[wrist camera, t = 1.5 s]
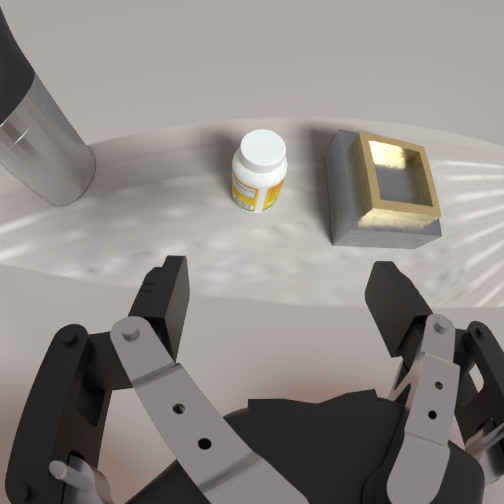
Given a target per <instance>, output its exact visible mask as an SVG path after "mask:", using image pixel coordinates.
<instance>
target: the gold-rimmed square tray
mask: <svg viewBox="0 0 504 504" xmlns="http://www.w3.org/2000/svg"><path fill="white" fill-rule="evenodd" d="M324 158H325V167H326V175H327V185H328V195H329V206H330V218H331V232H332V245H336V246H360V247H383V248H404V249H415V248H417V247H420V246H422V245H424V244H426V243H428V242H431V241H433V240H435V239H437V238H439V237H441V236H442V234H441V228H440V222H439V218H440V217H441V213H440V208H439V203H438V199H437V194H436V190H435V186H434V182H433V178H432V174H431V170H430V167H429V163H428V160H427V156H426V153H425V150H424V147H423V146H419V145H416V144H412V143H408V142H404V141H400V140H396V139H392V138H387V137H383V136H378V135H373V134H368V133H363V132H359V133H355V132H349V131H343V130H338V132H337V134H336V136H335V137H334V139H333V141H332V143H331V145H330V147H329V149H328V151H327V153H326V154H325V156H324Z"/></svg>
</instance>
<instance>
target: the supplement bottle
mask: <svg viewBox="0 0 504 504" xmlns="http://www.w3.org/2000/svg"><path fill="white" fill-rule="evenodd" d="M285 152H286V147H285V143H284V141H283V140H282V138H281V137H280V136H279V135H278V134H276V133H274V132H272V131H269V130H264V129H259V130H254V131H251V132H249V133H248V134H246V135H245V136H244V137H243V139H242V141H241V144H240V147H239V148H238V149H237V151H236V152H235V154H234V156H233V159H232V197H233V199H234V201H235V203H236V204H237V205H238V206H239V207H240V208H241V209H243V210H244V211H247V212H250V213H260V212H264V211H266V210H268V209H269V208H270V207H272V206H273V204H274V203H275V201H276V199H277V197H278V194H279V191H280V189H281V186H282V183H283V181H284V178H285V175H286V172H287V168H288V163H287V159H286V156H285Z"/></svg>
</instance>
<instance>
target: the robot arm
mask: <svg viewBox="0 0 504 504" xmlns="http://www.w3.org/2000/svg"><path fill="white" fill-rule="evenodd" d="M0 164H1V165H3V166H4V167H5V169H6V170H7V171H8V172H9V173H10V174H12V175H13V176H14V177H15V178H17V179H18V180H19V181H21V182H22V183H23V184H24V185H26V186H27V187H28V188H30V189H31V190H32V191H34V192H35V193H36V194H38V195H39V196H40V197H42V198H44V199H46V200H47V201H48V202H50V203H51V204H53V205H56V206H64V205H67V204H70V203H71V202H73V201H75V200H76V199H77V198H79V197H80V196H81V195H82V194H83V193H84V192H85V190H86V189H87V188H88V186H89V184H90V183H91V181H92V179H93V176H94V173H95V167H96V165H95V158H94V156H93V154H92V153H91V151H90V150H89V149H88V147H87V146H86V145H85V143H84V142H83V141H82V139H81V138H80V136H79V135H78V134H77V132H76V131H75V130H74V128H73V127H72V125H71V124H70V123H69V121H68V120H67V118H66V117H65V116H64V114H63V113H62V111H61V110H60V109H59V107H58V106H57V104H56V103H55V101H54V100H53V98H52V97H51V95H50V94H49V92H48V91H47V90H46V88H45V86H44V85H43V83H42V82H41V80H40V79H39V78H38V76H37V74H36V73H35V71H34V69H33V68H32V66H31V65H30V63H29V62H28V60H27V59H26V57H25V56H24V54H23V53H22V51H21V49H20V48H19V46H18V44H17V43H16V41H15V39H14V37H13V35H12V33H11V31H10V29H9V26H8V24H7V22H6V20H5V17H4V15H3V12H2V10H1V7H0ZM189 294H190V288H189V278H188V268H187V259H186V256H172V255H168V256H167V257H166V259H165V262H164V264H163V266H162V267H154V268H153V269H152V270H151V271H150V272H149V273H148V274H146V277H145V279H144V281H143V285H141V287H140V290H139V292H138V294H137V296H136V298H135V301H134V303H133V305H132V308H131V310H130V312H129V315H128V317H126V318H123V319H121V320H119V321H118V322H116V323H115V325H113V327H112V329H111V331H109V332H104V333H98V334H90V335H89V334H88V333H87V330H86V329H85V328H84V327H83V326H81V325H77V324H70V325H67V326H65V327H63V328H61V329H60V330H59V331H58V332H57V333H56V334H55V336H54V338H53V340H52V342H51V344H50V346H49V348H48V351H47V353H46V355H45V357H44V359H43V362H42V364H41V366H40V368H39V371H38V373H37V376H36V378H35V381H34V383H33V386H32V388H31V391H30V394H29V396H28V399H27V402H26V405H25V407H24V410H23V413H22V416H21V419H20V423H19V426H18V429H17V432H16V436H15V440H14V443H13V447H12V451H11V455H10V459H9V464H8V469H7V473H6V479H5V491H6V494H7V497H8V499H9V501H10V502H11V504H115V503H114V502H113V500H112V498H111V495H110V486H109V482H108V480H107V478H106V477H105V476H104V474H103V473H101V472H100V471H99V470H97V467H98V460H99V453H100V448H101V442H102V436H103V431H104V426H105V421H106V416H107V411H108V406H109V403H110V398H111V394H112V390H120V389H127V388H134V389H135V391H136V393H137V395H138V397H139V399H140V401H141V402H142V404H143V406H144V408H145V410H146V411H147V413H148V415H149V416H150V418H151V420H152V422H153V423H154V425H155V427H156V428H157V430H158V431H159V433H160V435H161V436H162V438H163V439H164V441H165V442H166V444H167V445H168V447H169V448H170V450H171V451H172V453H173V454H174V456H175V457H176V460H175V461H174V462H173V463H172V464H171V465H169V467H167V468H166V469H165V470H164V471H163V472H162V473H161V474H159V475H158V476H157V477H156V478H155V479H154V480H153V481H151V482H150V483H149V484H148V485H147V486H145V487H144V488H143V489H142V490H141V491H139V492H138V493H137V494H136V495H135V496H134V497H132V498H131V499H130V500H128V501H127V502H126V503H125V504H482V499H483V493H484V488H485V487H486V486H487V485H489V484H491V483H493V482H495V481H497V480H499V479H500V478H502V477H504V352H503V351H502V349H501V347H500V346H499V344H498V342H497V341H496V339H495V337H494V336H493V334H492V332H491V331H490V330H489V328H488V327H487V326H486V325H484V324H483V323H481V322H478V321H473V322H471V323H470V324H469V326H468V328H467V329H466V330H462V329H455V327H454V325H453V323H452V322H451V321H450V320H449V319H448V318H446V317H444V316H443V315H440V314H433V312H432V311H431V309H430V308H429V306H428V305H427V303H426V302H425V300H424V299H423V297H422V296H421V294H419V291H418V290H417V289H416V288H415V286H414V284H413V283H412V282H411V280H410V279H409V278H408V277H406V276H405V275H404V274H403V273H401V272H400V271H399V270H398V268H397V267H396V265H395V264H394V263H393V262H392V261H376V262H375V263H374V265H373V268H372V271H371V275H370V278H369V281H368V284H367V287H366V290H365V301H366V304H367V306H368V308H369V310H370V312H371V314H372V316H373V318H374V320H375V323H376V325H377V327H378V329H379V331H380V333H381V335H382V338H383V340H384V342H385V344H386V347H387V349H388V351H389V354H390V355H391V357H392V358H393V357H399V356H402V358H403V360H402V361H401V363H400V365H399V368H398V371H397V374H396V377H395V380H394V382H393V385H392V388H391V391H390V394H389V396H388V398H387V399H384V398H378V397H377V395H376V391H375V389H371V390H365V391H358V392H352V393H346V394H343V395H341V396H338V397H335V398H333V399H330V400H327V401H324V402H321V403H317V404H314V403H306V402H300V401H294V400H288V399H248V408H244V409H240V410H237V411H234V412H232V413H229V414H227V415H225V416H224V417H222V416H221V415H220V414H219V413H218V411H217V410H216V409H215V408H214V407H213V405H212V404H211V403H210V402H209V400H208V399H207V398H206V397H205V395H204V394H203V393H202V391H201V390H200V389H199V388H198V386H197V385H196V384H195V382H194V381H193V380H192V378H191V377H190V376H189V374H188V373H187V371H186V370H185V369H184V367H183V366H182V365H181V364H180V363H177V364H176V358H177V354H178V349H179V344H180V339H181V334H182V330H183V325H184V320H185V316H186V311H187V307H188V302H189ZM475 364H476V365H477V367H478V369H479V370H480V373H481V375H482V377H483V380H484V385H483V388H482V389H481V391H480V392H479V393H478V391H477V389H476V387H475V385H474V382H473V380H472V378H471V376H470V374H469V371H470V370H471V369H472V368H473V366H474V365H475ZM454 414H455V417H456V420H457V423H458V426H459V429H460V432H461V435H462V438H463V442H464V445H465V451H464V450H463V449H461V448H460V447H458V446H457V445H455V444H454V443H453V442H451V441H450V440H449V434H450V430H451V425H452V420H453V415H454Z"/></svg>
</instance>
